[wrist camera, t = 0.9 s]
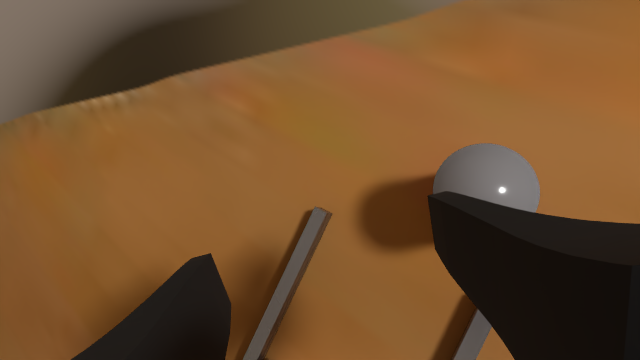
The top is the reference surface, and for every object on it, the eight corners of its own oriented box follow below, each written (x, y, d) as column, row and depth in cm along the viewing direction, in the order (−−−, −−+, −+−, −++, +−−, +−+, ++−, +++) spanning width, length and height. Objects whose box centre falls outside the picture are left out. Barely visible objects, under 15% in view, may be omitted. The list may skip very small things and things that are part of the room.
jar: (534, 182, 22) (558, 165, 17) (500, 253, 22) (512, 258, 17) (457, 153, 24) (457, 129, 19) (426, 218, 24) (417, 213, 19)
